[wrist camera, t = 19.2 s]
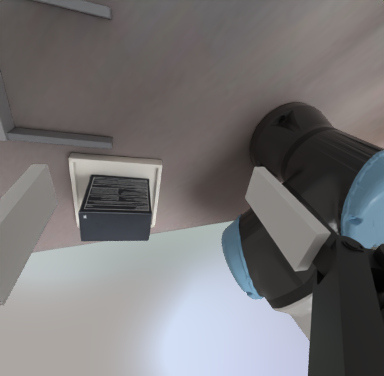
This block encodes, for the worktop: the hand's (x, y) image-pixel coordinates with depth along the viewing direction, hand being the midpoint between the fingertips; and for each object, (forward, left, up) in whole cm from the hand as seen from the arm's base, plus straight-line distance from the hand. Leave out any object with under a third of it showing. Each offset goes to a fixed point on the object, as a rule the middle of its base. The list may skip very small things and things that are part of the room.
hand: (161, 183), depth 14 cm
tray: (+4, +18, -24) cm, 30 cm away
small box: (+4, +17, -24) cm, 29 cm away
